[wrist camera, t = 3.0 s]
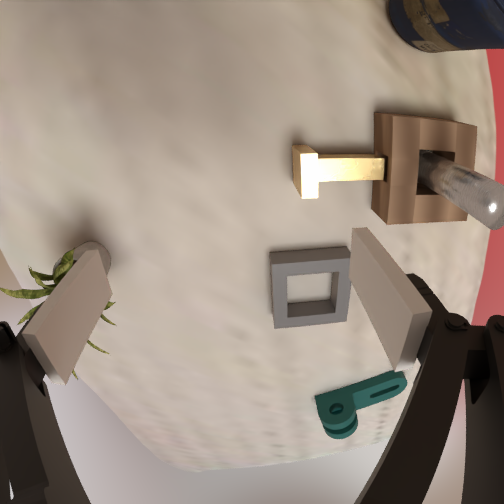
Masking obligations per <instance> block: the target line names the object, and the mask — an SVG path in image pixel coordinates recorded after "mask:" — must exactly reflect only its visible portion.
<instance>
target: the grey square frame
mask: <svg viewBox="0 0 504 504" xmlns="http://www.w3.org/2000/svg"><path fill="white" fill-rule="evenodd" d="M350 256H351V252H350V251H349V249H348V248H347V247H335V248H322V249H309V250H296V251H283V252H270V266H271V287H272V308H273V321H274V329H278V328H289V327H300V326H310V325H319V324H328V323H336V322H345V321H347V314H348V306H349V298H350V290H351V281H350V279H349V267H350ZM328 272H333V273H332V287H331V299H330V300H323V301H313V302H303V303H292V304H287V276H293V275H305V274H317V273H328Z"/></svg>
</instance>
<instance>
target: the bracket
mask: <svg viewBox="0 0 504 504" xmlns="http://www.w3.org/2000/svg"><path fill="white" fill-rule="evenodd" d="M406 386H407V380H406V378H405V376H404V373H403V372H402V371H398V372H394V370H393V371H389V372H386V373H384V374H381V375H378V376H375V377H373V378H370V379H367V380H364V381H361V382H358V383H355V384H352V385H349V386H346V387H343V388H340V389H337V390H333V391H330V392H327V393H323V394H320V395H316V396H315V400H316V405H317V410H318V415H319V417H320V420H321V422H322V424H323V427H324V429H325V432H326V434H327V435H328V436H330V437H331V438H334V439H343V438H346V437H349V436H350V435H352V434H353V433H354V432H355V430H356V429H357V426H358V419H357V414H356V410H358V409H361V408H364V407H367V406H370V405H373V404H376V403H379V402H381V401H384V400H387V399H390V398H392V397H394V396H396V395H398V394H399V393H401V392H402V391H403V390H404V389H405V388H406Z"/></svg>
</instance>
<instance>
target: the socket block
mask: <svg viewBox="0 0 504 504" xmlns="http://www.w3.org/2000/svg"><path fill="white" fill-rule="evenodd" d="M476 140H477V126H473V125H469V124H465V123H461V122H457V121H452V120H445V119H437V118H430V117H421V116H412V115H401V114H388V113H374V154H376V155H378V156H380V157H382V158H384V179H383V180H373V190H372V206H371V209H372V210H373V211H374V212H375V213H376V214H377V215H378V216H379V217H380V218H381V219H382V220H383V221H384V222H385V223H386V224H387V225H391V224H410V223H429V222H450V221H467V215H468V213H467V212H465V211H464V210H462V209H461V208H459V207H458V206H456V205H455V204H453V203H452V202H450V201H449V200H447V199H446V198H444V197H442V196H441V195H439V194H438V193H436V192H434V191H433V190H431V189H429V188H428V187H426V186H424V185H423V184H421V183H417V179H418V165H419V149H423V150H433V153H434V154H436V155H439V156H441V157H444V158H446V159H448V160H451V161H453V162H455V163H458V164H460V165H462V166H464V167H467V168H469V169H471V170H473V171H474V165H475V154H476Z"/></svg>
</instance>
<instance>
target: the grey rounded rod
mask: <svg viewBox="0 0 504 504" xmlns="http://www.w3.org/2000/svg"><path fill="white" fill-rule="evenodd" d="M417 181H418V182H419V183H421V184H423V185H424V186H426V187H428V188H429V189H431V190H433V191H434V192H436V193H438V194H439V195H441V196H442V197H444V198H446V199H447V200H449V201H450V202H452V203H453V204H455V205H456V206H458V207H459V208H461V209H462V210H464V211H465V212H467V213H468V214H470V215H471V216H473V217H474V218H476V219H477V220H478V221H480V222H481V223H483V224H484V225H485V226H487V227H488V228H490V229H492V230H497V229H499V228H501V227H502V226H503V225H504V185H502V184H500V183H498V182H496V181H494V180H492V179H490V178H488V177H486V176H484V175H482V174H480V173H478V172H475V171H473V170H471V169H469V168H467V167H464V166H462V165H460V164H458V163H455V162H453V161H451V160H448V159H446V158H444V157H441V156H439V155H436V154H434V153H431V152H429V151H426V150H423V149H419V165H418V179H417Z"/></svg>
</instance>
